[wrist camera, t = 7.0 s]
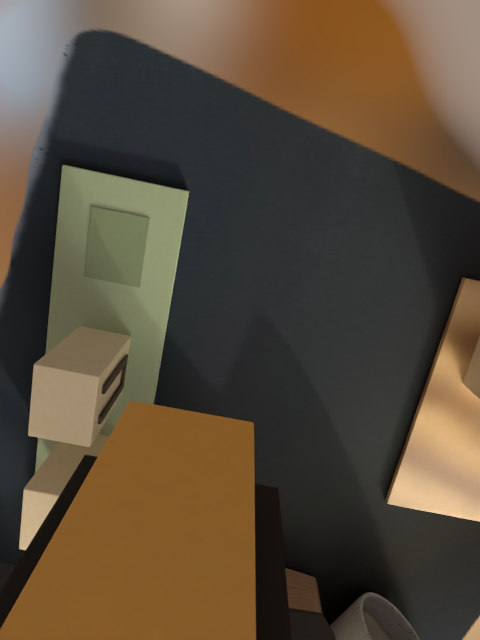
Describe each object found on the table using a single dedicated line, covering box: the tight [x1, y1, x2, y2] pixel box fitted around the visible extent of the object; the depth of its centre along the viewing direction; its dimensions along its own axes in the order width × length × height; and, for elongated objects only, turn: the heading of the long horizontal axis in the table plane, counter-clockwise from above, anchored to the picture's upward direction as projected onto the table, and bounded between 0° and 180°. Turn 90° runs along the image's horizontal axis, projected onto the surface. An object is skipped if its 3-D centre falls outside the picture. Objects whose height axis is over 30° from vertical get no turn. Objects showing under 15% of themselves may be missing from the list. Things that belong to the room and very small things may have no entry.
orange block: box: [0, 401, 256, 640], centre depth 11 cm, size 5×4×8 cm
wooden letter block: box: [19, 434, 109, 550], centre depth 35 cm, size 5×4×8 cm
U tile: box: [28, 326, 131, 447], centre depth 32 cm, size 5×4×8 cm
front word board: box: [35, 165, 189, 473], centre depth 36 cm, size 28×9×1 cm, turn 168°
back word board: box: [386, 277, 480, 521], centre depth 37 cm, size 20×9×1 cm, turn 168°
